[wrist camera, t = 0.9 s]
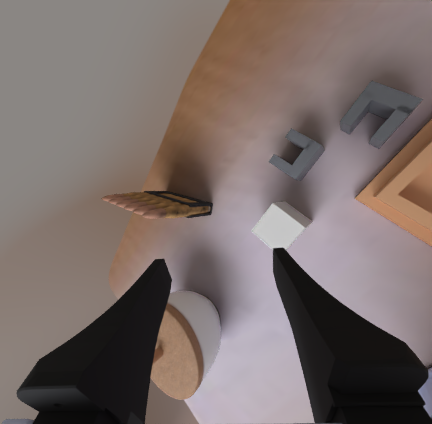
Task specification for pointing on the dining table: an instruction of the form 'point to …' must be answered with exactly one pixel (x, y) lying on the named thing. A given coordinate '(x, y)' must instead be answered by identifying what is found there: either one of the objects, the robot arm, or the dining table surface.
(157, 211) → the ammunition clip
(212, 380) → the dining table surface
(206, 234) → the dining table surface
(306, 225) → the plain white rectangular block
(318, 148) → the clip
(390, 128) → the clip
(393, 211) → the wooden tray
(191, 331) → the lidded bowl
